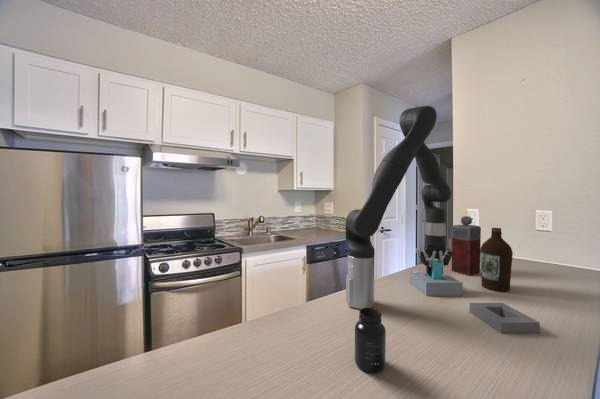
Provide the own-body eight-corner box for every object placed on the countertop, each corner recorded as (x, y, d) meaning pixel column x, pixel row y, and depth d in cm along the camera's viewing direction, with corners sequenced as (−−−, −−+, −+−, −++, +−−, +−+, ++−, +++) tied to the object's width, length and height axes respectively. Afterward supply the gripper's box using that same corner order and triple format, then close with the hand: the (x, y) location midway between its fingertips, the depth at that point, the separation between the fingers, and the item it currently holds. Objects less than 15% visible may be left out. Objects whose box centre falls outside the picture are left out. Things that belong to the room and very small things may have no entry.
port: (426, 295, 98) (426, 281, 98) (409, 283, 112) (410, 270, 112) (462, 295, 98) (462, 281, 98) (441, 283, 112) (441, 270, 112)
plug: (433, 287, 103) (433, 262, 102) (426, 283, 108) (427, 259, 107) (441, 287, 103) (442, 262, 103) (435, 283, 108) (435, 259, 108)
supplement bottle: (350, 355, 62) (351, 305, 61) (378, 353, 62) (378, 304, 62) (359, 375, 55) (360, 319, 55) (390, 373, 55) (391, 318, 55)
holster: (500, 333, 72) (501, 322, 72) (469, 311, 85) (469, 302, 85) (539, 333, 72) (539, 322, 72) (502, 311, 85) (502, 302, 85)
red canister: (482, 272, 127) (484, 216, 127) (469, 276, 122) (470, 217, 122) (464, 268, 135) (465, 215, 135) (451, 271, 130) (452, 215, 130)
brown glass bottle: (489, 282, 114) (490, 226, 113) (517, 290, 104) (519, 229, 103) (473, 285, 110) (475, 227, 109) (501, 294, 100) (502, 230, 99)
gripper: (422, 235, 101) (421, 278, 101) (458, 235, 101) (457, 278, 102) (413, 232, 108) (413, 272, 109) (446, 232, 109) (446, 272, 109)
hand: (434, 275), depth 105 cm, fingers closed on plug, 3 cm apart
